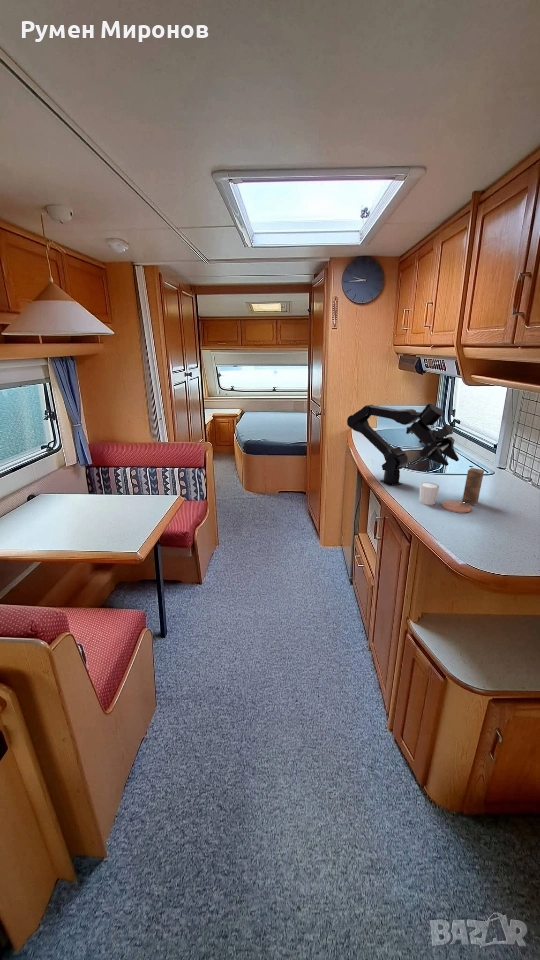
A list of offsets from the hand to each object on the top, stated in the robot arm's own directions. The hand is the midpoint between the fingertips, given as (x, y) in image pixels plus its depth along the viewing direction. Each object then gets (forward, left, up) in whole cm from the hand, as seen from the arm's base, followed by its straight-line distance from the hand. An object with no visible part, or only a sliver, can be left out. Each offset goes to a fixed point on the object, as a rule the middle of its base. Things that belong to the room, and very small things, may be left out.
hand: (453, 462), depth 151 cm
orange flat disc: (+8, -3, -15) cm, 17 cm away
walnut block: (+5, +6, -15) cm, 17 cm away
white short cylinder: (0, -10, -15) cm, 18 cm away
